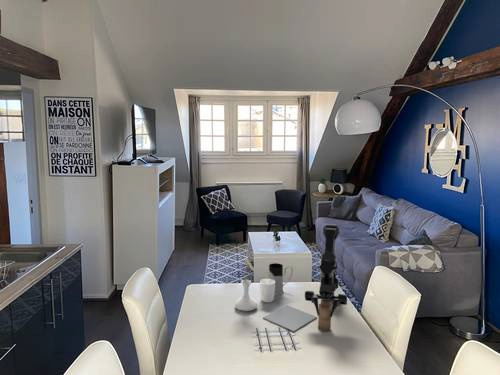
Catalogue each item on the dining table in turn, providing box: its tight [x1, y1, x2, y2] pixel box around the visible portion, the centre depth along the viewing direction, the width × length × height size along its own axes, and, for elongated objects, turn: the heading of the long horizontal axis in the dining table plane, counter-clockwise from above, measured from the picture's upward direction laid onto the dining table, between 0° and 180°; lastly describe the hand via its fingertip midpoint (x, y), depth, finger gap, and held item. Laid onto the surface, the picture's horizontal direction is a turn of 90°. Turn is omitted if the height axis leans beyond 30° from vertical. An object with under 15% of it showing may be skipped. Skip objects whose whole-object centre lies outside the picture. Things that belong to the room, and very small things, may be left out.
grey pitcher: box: [268, 262, 293, 296], centre depth 210 cm, size 9×14×15 cm, turn 107°
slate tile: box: [262, 304, 318, 333], centre depth 181 cm, size 18×18×1 cm
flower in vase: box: [234, 257, 258, 312], centre depth 190 cm, size 13×11×25 cm
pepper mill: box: [317, 299, 332, 333], centre depth 170 cm, size 5×5×13 cm
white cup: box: [259, 278, 275, 303], centre depth 200 cm, size 8×8×10 cm
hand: (324, 316), depth 169 cm, fingers closed on pepper mill, 5 cm apart
